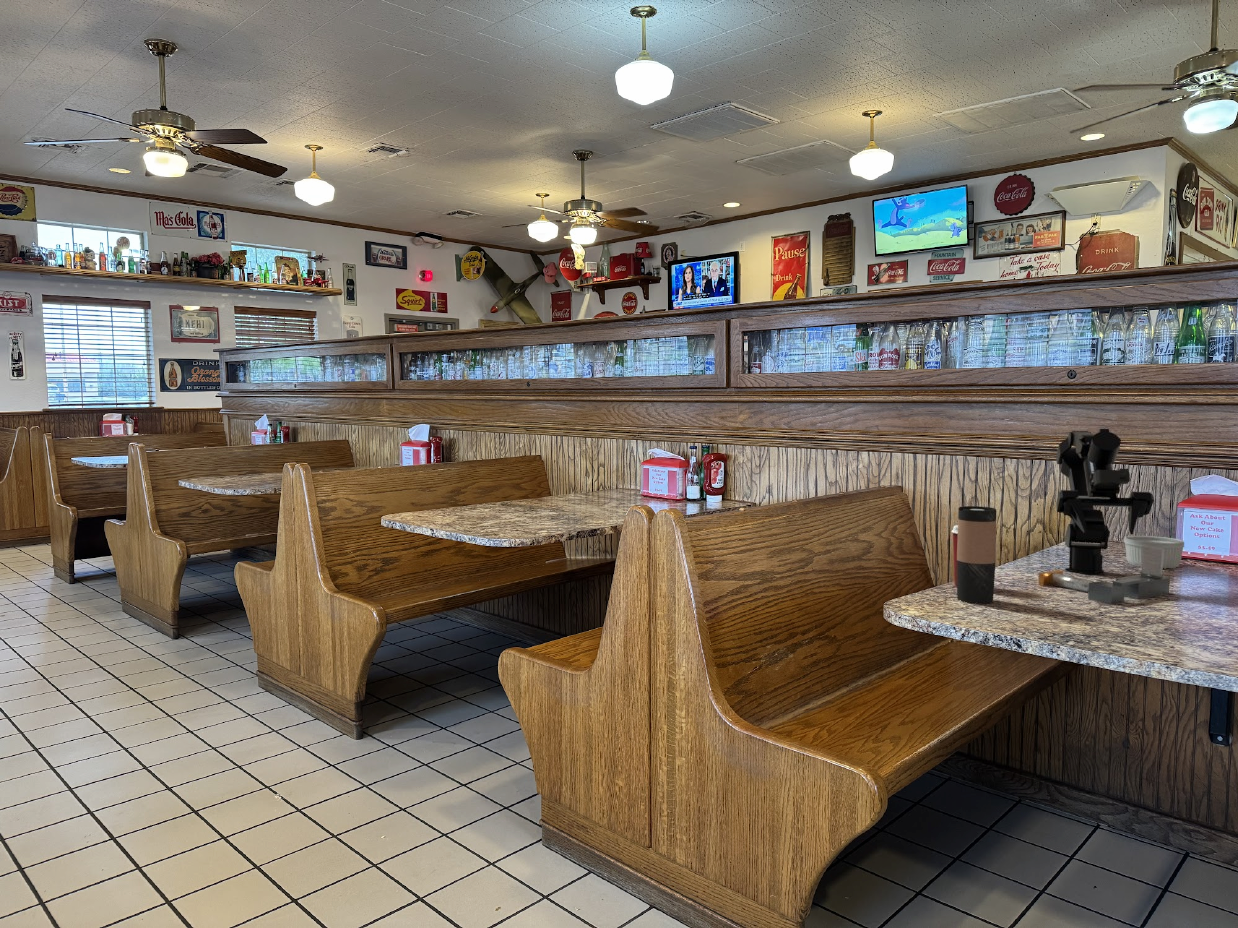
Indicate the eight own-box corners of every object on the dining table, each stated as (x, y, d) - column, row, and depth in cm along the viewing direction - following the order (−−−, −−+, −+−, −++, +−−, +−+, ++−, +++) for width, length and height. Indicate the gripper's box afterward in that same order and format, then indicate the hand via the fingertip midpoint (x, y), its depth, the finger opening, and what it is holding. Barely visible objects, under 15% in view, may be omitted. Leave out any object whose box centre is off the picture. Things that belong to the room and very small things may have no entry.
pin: (1038, 585, 189) (1038, 572, 189) (1057, 582, 192) (1058, 570, 192) (1080, 594, 180) (1081, 581, 180) (1099, 591, 183) (1100, 577, 183)
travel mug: (999, 599, 175) (1002, 508, 174) (987, 606, 169) (989, 511, 168) (963, 594, 180) (965, 505, 179) (950, 600, 175) (952, 508, 173)
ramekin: (1114, 560, 220) (1115, 534, 220) (1166, 561, 218) (1167, 535, 218) (1138, 569, 207) (1139, 542, 207) (1194, 570, 205) (1195, 543, 205)
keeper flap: (1139, 574, 183) (1142, 546, 182) (1142, 574, 183) (1144, 546, 183) (1160, 578, 179) (1163, 549, 179) (1162, 578, 179) (1165, 549, 179)
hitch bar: (1088, 599, 175) (1088, 580, 175) (1145, 589, 185) (1146, 571, 184) (1111, 604, 171) (1112, 584, 170) (1169, 593, 180) (1169, 574, 180)
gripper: (1059, 455, 188) (1066, 510, 179) (1153, 456, 181) (1165, 512, 172) (1053, 484, 196) (1059, 538, 187) (1143, 486, 189) (1153, 542, 180)
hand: (1108, 532), depth 181 cm, fingers open, 9 cm apart
